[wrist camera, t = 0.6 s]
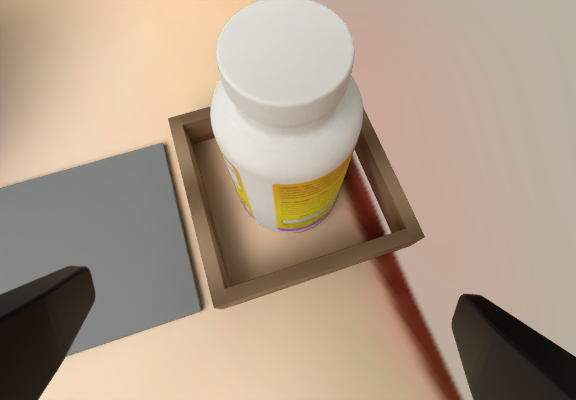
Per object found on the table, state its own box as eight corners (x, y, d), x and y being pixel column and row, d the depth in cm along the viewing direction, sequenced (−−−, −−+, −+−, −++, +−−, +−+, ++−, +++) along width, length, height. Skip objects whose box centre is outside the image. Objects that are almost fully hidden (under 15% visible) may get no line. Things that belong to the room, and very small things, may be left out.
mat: (202, 310, 21) (200, 310, 20) (-2, 379, 19) (-8, 380, 19) (164, 145, 24) (162, 142, 24) (-8, 193, 23) (-13, 191, 23)
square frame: (410, 245, 22) (424, 237, 20) (222, 309, 21) (213, 307, 18) (340, 92, 26) (345, 69, 24) (179, 137, 25) (168, 118, 22)
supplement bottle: (352, 172, 24) (419, 18, 12) (307, 253, 22) (330, 171, 10) (271, 131, 25) (253, -48, 13) (221, 205, 23) (144, 76, 11)
